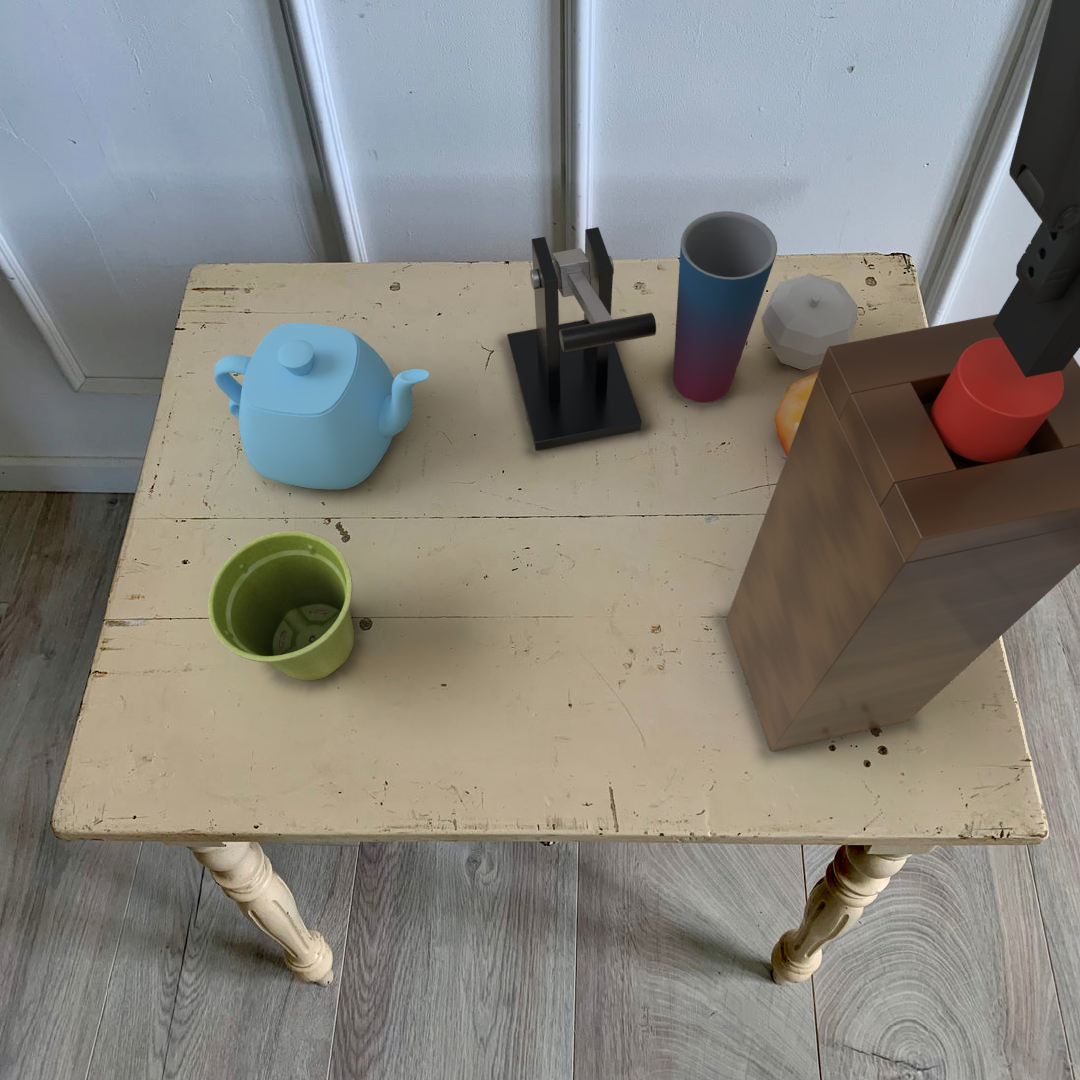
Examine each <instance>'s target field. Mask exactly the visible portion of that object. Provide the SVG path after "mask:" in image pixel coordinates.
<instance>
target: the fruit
mask: <svg viewBox="0 0 1080 1080" xmlns="http://www.w3.org/2000/svg"><path fill="white" fill-rule="evenodd" d="M817 376H818V372H815V373H812V374H810V375H807V376H804V377H802V378H801V379H798V380H797V381H795V382H792V383H791V384H790V385H789V386H788V388H787V389H786V391H785V393H784V395H783V396H782V397H781V399H780V401H779V404H778V407H777V410H776V412H775V415H774V418H773V422H774V425H775V431H776V435H777V438H778V441H779V444H780V446H781V448H782V450H783V452H784V454H785V456H786V457H787V455H788V453H789V450H790V447H791V445H792V442H793V439H794V437H795V434H796V431H797V429H798V426H799V423H800V421H801V418H802V415H803V413H804V410H805V407H806V404H807V402H808V399H809V396H810V394H811V391H812V388H813V386H814V383H815V380H816V378H817Z"/></svg>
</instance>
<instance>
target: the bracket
mask: <svg viewBox="0 0 1080 1080" xmlns="http://www.w3.org/2000/svg"><path fill="white" fill-rule="evenodd" d="M584 232H585V233H584V237H585V238H584V254H585V255H586V257H587V258H588V260H589V263H590V275H591V286H592V287H593V289H594V291H595V292H596V294H597V295H598V297H599V299H600V300H601V302H602V303H603V305H604V307H605V308H606V310H607V311H608V313H609V315H610V316H611V317H612V304H613V303H612V302H613V281H614V274H615V267H614V266H615V265H614V260H613V258H612V255H609V253H608V251H607V248H606V245H605V242H604V238H603V236H602V233H601V230H600V228H599V226H596V227H591V228H586V229H584ZM531 253H532V269H530V271H529V277H530V283H531V287H532V289H533V291H534V310H535V328H533V329H526V330H521V331H517V332H511V333H507V334H506V338H507V339H506V340H507V345H508V349H509V353H510V357H511V361H512V365H513V369H514V372H515V373H514V374H515V377H516V380H517V384H518V389H519V392H520V396H521V401H522V404H523V408H524V412H525V416H526V419H527V423H528V424H527V425H528V427H529V431H530V436H531V438H532V443H533V446H534V450H535V451H543V450H547V449H552V448H557V447H563V446H568V445H572V444H573V445H574V444H577V443H583V442H589V441H595V440H598V439H603V438H609V437H613V436H618V435H625V434H629V433H634V432H639V431H642V425H643V424H642V423H643V422H642V418H641V416H640V412H639V410H638V407H637V404H636V400H635V398H634V395H633V392H632V388H631V386H630V383H629V382H630V381H629V379H628V377H627V373H626V371H625V367H624V364H623V361H622V359H621V355H620V352H619V350H618V347H617V343H611V344H606V345H601V346H595V347H590V348H585V349H579V350H574V351H569V352H563V350H562V347H561V343H560V336H559V331H560V329H565V328H571V327H576V326H581V325H587V324H590V322H589V321H588V319H587V317H586V315H585V313H584V312H583V319H581V320H576V321H571V322H565V323H560V313H559V308H560V306H559V289H558V278H557V275H556V271H555V268H554V265H553V257H552V254H551V252H550V248H549V246H548V242H547V239H546V236H541V237H535V238H531Z"/></svg>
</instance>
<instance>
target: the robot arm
mask: <svg viewBox="0 0 1080 1080" xmlns="http://www.w3.org/2000/svg"><path fill="white" fill-rule="evenodd" d="M1037 56H1038V57H1037V59H1036V63H1035V67H1034V71H1033V75H1032V80H1031V83H1030V86H1029V92H1028V95H1027V99H1026V102H1025V107H1024V111H1023V114H1022V118H1021V122H1020V126H1019V130H1018V133H1017V134H1018V135H1017V138H1016V141H1015V146H1014V150H1013V154H1012V158H1011V161H1010V166H1009V169H1008V171H1009V174H1008V175H1009V176H1010V178H1011V179H1012V181H1013V182H1014V183H1015V185H1016V186H1017V188H1018V189H1019V191H1020V192H1021V194H1022V195H1023V196H1024V197H1025V199H1026V200H1027V202H1028V203H1029V205H1030V206H1031V208H1032V209H1033V210H1034V213H1036V215H1037V216H1038V218H1039V219H1040V220H1041V223H1040V224H1039V226H1038V228H1037V230H1036V231H1035V233H1034V235H1033V237H1031V240H1030V243H1028V245H1027V247H1026V248H1025V250H1024V252H1023V254H1022V255H1021V257H1020V258H1019V260H1018V262H1017V264H1016V267H1015V269H1016V270H1015V276H1016V278H1017V282H1016V284H1015V285H1014V287H1013V288H1012V290H1011V292H1010V293H1009V295H1008V297H1007V298H1006V300H1005V302H1004V304H1003V305H1002V307H1001V308H1000V311H999V312H998V313H997V314H998V315H997V317H996V319H995V320H994V322H993V325H994V327H995V329H996V330H997V332H998V333H999V335H1000V337H1001V338H1002V340H1003V342H1004V343H1005V345H1006V346H1007V348H1008V350H1009V351H1010V353H1011V355H1012V356H1013V358H1014V359H1015V361H1016V363H1017V364H1018V366H1019V368H1020V369H1021V371H1022V372H1023V374H1024V376H1025V377H1031V376H1036V375H1041V374H1046V373H1051V372H1056V371H1061V370H1064V368H1065V367H1066V366H1067V364H1068V363H1069V362H1070V360H1071V359H1072V358H1073V357H1075V355H1076V354H1077V352H1078V351H1079V349H1080V0H1052V1H1051V4H1050V8H1049V14H1048V16H1047V19H1046V24H1045V28H1044V32H1043V36H1042V40H1041V43H1040V48H1039V52H1038V55H1037Z"/></svg>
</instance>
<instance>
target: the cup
mask: <svg viewBox="0 0 1080 1080" xmlns="http://www.w3.org/2000/svg"><path fill="white" fill-rule="evenodd" d="M777 253H778V242H777V239H776V236H775V234H774V233H773V231H772V230H771V229H770V228H769V227H768V226H767V225H766V224H765V223H764V222H762V221H761V220H759V218H756V217H753V216H752V215H750V214H746V213H744V212H738V211H727V210H726V211H725V210H721V211H714V212H709V213H706V214H703V215H701V216H699V217H697V218H696V219H694V220H693V221H691V222H690V223H689V224H688V225H687V226H686V228H685V229H684V231H683V232H682V235H681V238H680V248H679V266H678V283H677V301H676V316H675V317H676V319H675V336H674V352H673V353H674V354H673V368H672V369H673V370H672V382H673V385H674V387H675V389H676V390H677V392H678V393H679V395H681V396H683V397H684V398H686V399H688V400H690V401H693V402H695V403H696V402H697V403H711V402H715V401H717V400H719V399H722V398H723V397H725V396H726V395H727V394H728V393H729V391H730V389H731V387H732V385H733V381H734V379H735V376H736V373H737V369H738V367H739V364H740V362H741V358H742V355H743V352H744V350H745V347H746V344H747V341H748V338H749V335H750V332H751V329H752V327H753V323H754V320H755V317H756V315H757V312H758V310H759V306H760V304H761V300H762V297H763V295H764V293H765V289H766V286H767V283H768V280H769V277H770V275H771V273H772V268H773V265H774V263H775V260H776V257H777Z"/></svg>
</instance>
